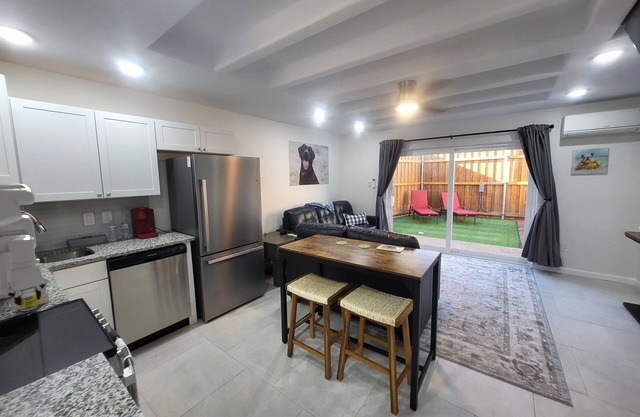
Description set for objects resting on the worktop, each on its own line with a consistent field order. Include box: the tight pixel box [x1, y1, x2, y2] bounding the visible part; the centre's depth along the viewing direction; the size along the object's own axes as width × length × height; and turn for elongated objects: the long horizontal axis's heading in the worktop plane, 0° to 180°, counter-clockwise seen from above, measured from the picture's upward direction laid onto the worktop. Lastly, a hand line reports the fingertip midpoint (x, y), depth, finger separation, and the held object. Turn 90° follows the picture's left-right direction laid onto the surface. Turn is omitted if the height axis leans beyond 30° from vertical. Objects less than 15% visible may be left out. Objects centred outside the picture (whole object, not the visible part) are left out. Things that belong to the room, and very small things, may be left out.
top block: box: [33, 285, 47, 294], centre depth 125 cm, size 6×6×5 cm
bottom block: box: [37, 291, 50, 306], centre depth 125 cm, size 7×7×5 cm
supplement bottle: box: [19, 287, 39, 312], centre depth 118 cm, size 5×5×10 cm
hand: (28, 301), depth 118 cm, fingers closed on supplement bottle, 5 cm apart
